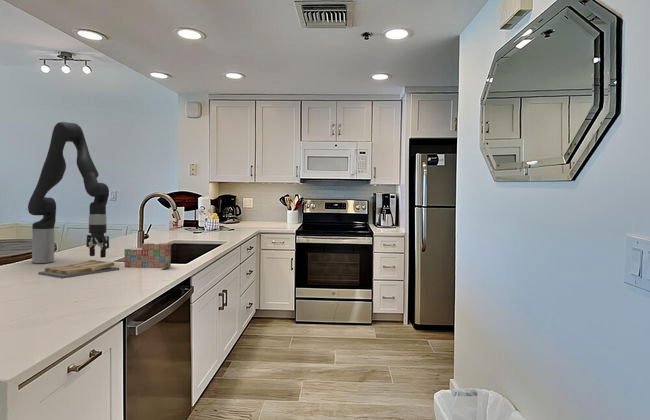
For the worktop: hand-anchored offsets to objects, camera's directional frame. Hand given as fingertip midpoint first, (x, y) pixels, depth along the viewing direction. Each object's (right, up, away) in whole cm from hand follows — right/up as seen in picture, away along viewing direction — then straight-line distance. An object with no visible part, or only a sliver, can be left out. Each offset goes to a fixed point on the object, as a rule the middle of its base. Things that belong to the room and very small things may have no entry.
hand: (97, 256), depth 196 cm
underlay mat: (-3, -6, -9) cm, 11 cm away
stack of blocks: (+21, -6, +7) cm, 23 cm away
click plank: (0, -4, -5) cm, 6 cm away
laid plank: (-5, -6, -14) cm, 16 cm away
